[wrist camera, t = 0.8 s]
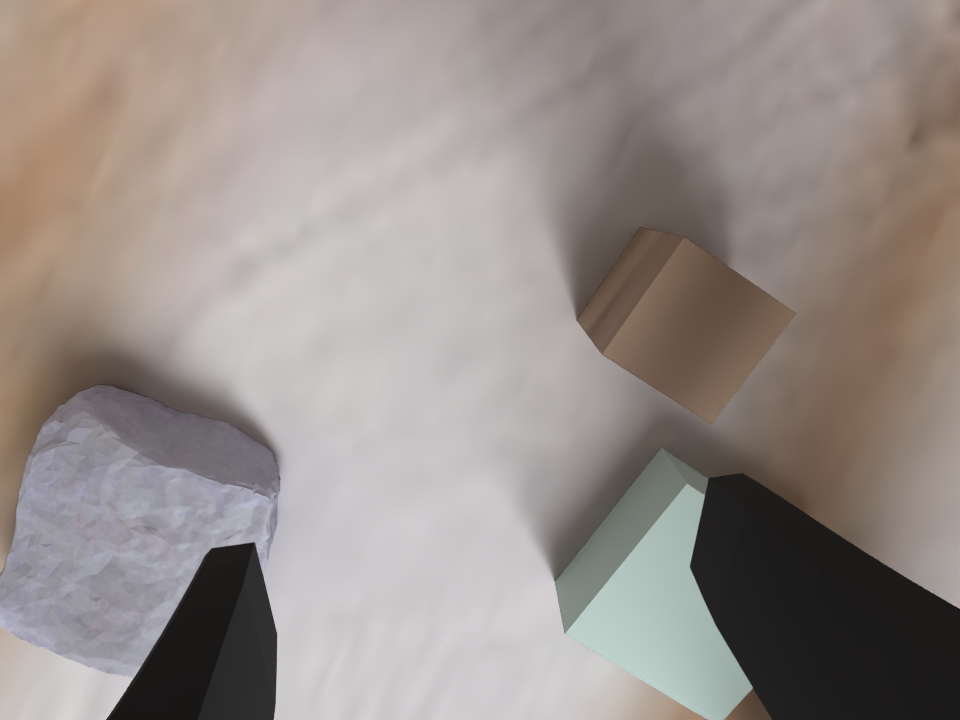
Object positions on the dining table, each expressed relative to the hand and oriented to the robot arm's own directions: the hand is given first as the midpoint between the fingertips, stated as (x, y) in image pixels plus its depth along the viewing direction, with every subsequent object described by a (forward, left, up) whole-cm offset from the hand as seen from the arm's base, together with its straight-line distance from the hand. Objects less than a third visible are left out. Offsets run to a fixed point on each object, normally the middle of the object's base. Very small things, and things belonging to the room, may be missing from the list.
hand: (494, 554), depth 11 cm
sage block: (-13, +4, -18) cm, 23 cm away
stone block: (+7, +15, -18) cm, 25 cm away
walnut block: (-5, -5, -18) cm, 19 cm away
